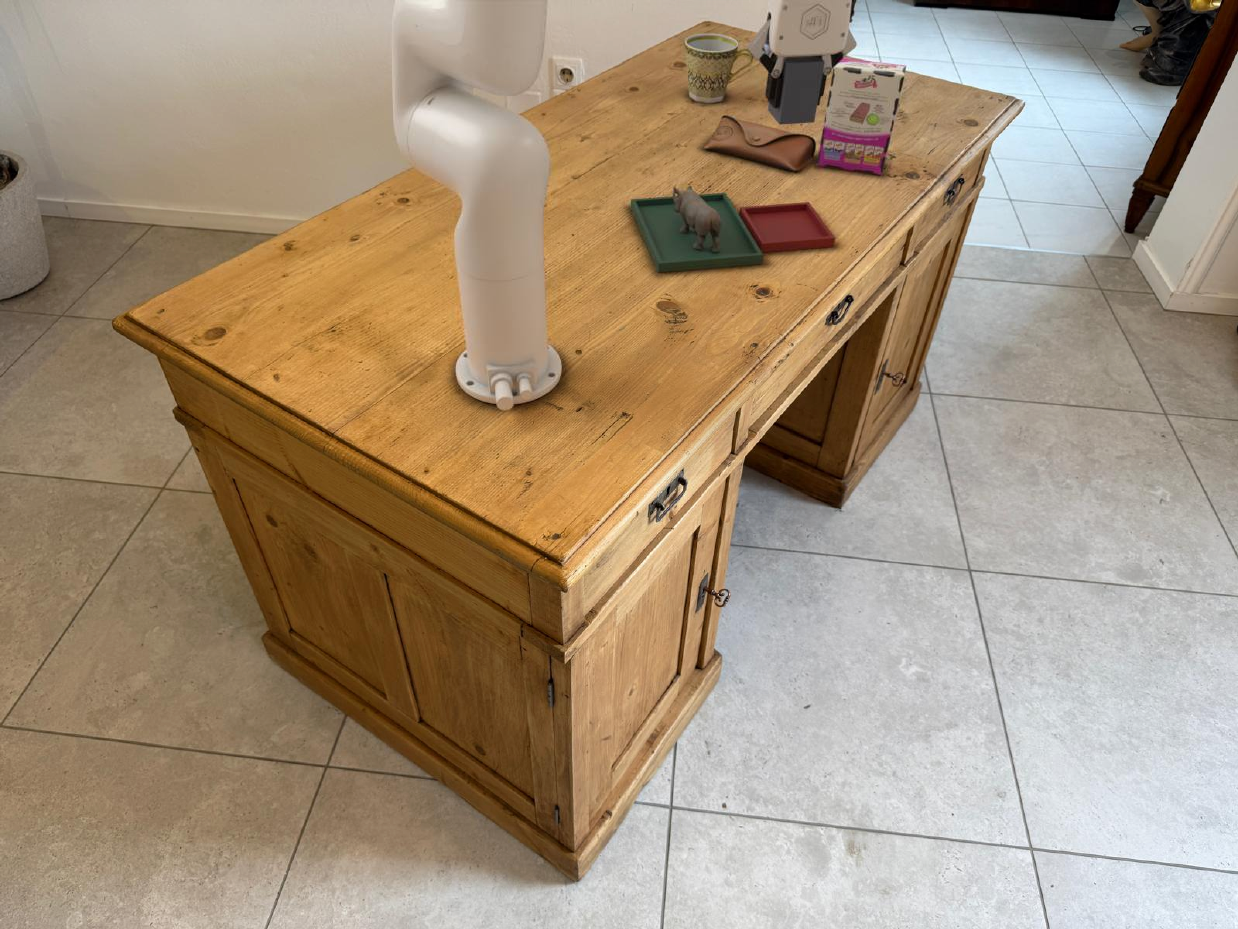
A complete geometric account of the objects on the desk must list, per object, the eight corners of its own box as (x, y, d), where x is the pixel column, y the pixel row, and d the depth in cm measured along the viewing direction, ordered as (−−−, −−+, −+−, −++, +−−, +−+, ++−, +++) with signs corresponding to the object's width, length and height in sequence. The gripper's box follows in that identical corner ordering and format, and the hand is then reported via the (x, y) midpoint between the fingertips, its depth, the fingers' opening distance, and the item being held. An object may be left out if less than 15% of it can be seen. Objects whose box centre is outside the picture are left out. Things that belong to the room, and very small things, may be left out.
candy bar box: (884, 164, 150) (908, 64, 139) (881, 176, 147) (906, 75, 135) (819, 154, 152) (837, 55, 141) (815, 166, 149) (833, 65, 138)
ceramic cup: (675, 102, 168) (679, 47, 161) (687, 83, 175) (692, 30, 168) (742, 111, 165) (749, 56, 158) (752, 92, 172) (759, 38, 165)
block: (814, 122, 120) (825, 61, 114) (779, 124, 119) (788, 63, 113) (801, 108, 123) (811, 48, 118) (767, 110, 122) (776, 49, 117)
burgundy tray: (833, 246, 129) (835, 237, 128) (760, 252, 128) (762, 243, 127) (807, 210, 137) (808, 201, 136) (738, 215, 136) (739, 206, 135)
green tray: (761, 263, 125) (763, 254, 124) (658, 272, 123) (658, 263, 122) (724, 201, 139) (725, 192, 138) (630, 207, 137) (630, 198, 136)
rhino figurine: (685, 208, 136) (688, 171, 132) (725, 251, 127) (730, 213, 122) (661, 212, 135) (663, 175, 130) (699, 256, 125) (703, 218, 121)
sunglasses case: (700, 147, 152) (711, 107, 150) (712, 155, 158) (723, 116, 156) (798, 172, 146) (811, 131, 144) (807, 178, 152) (819, 139, 150)
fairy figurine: (776, 53, 178) (735, 30, 184) (770, 76, 182) (730, 53, 187) (813, 42, 184) (772, 20, 189) (807, 65, 187) (767, 42, 193)
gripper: (759, -37, 103) (741, 117, 116) (894, -41, 106) (862, 110, 118) (740, -54, 108) (725, 95, 121) (869, -58, 111) (841, 89, 124)
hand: (793, 101), depth 119 cm, fingers closed on block, 5 cm apart
